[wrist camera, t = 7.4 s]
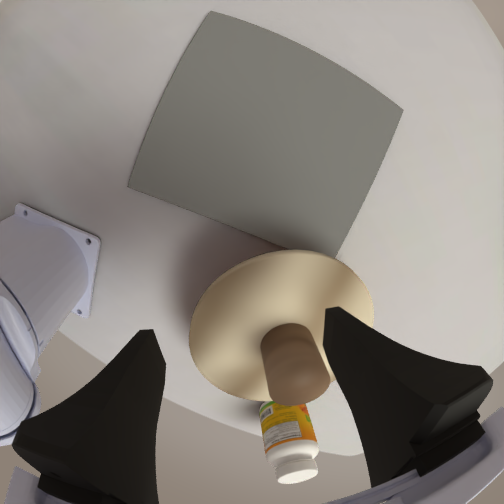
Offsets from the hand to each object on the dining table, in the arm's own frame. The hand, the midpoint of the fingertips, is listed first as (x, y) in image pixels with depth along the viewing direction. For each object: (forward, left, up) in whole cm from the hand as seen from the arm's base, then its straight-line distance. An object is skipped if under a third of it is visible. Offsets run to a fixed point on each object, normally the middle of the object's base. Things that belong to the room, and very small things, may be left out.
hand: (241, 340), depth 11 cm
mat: (-1, +9, -10) cm, 13 cm away
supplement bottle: (+12, -16, -10) cm, 22 cm away
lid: (+5, -3, -6) cm, 8 cm away
